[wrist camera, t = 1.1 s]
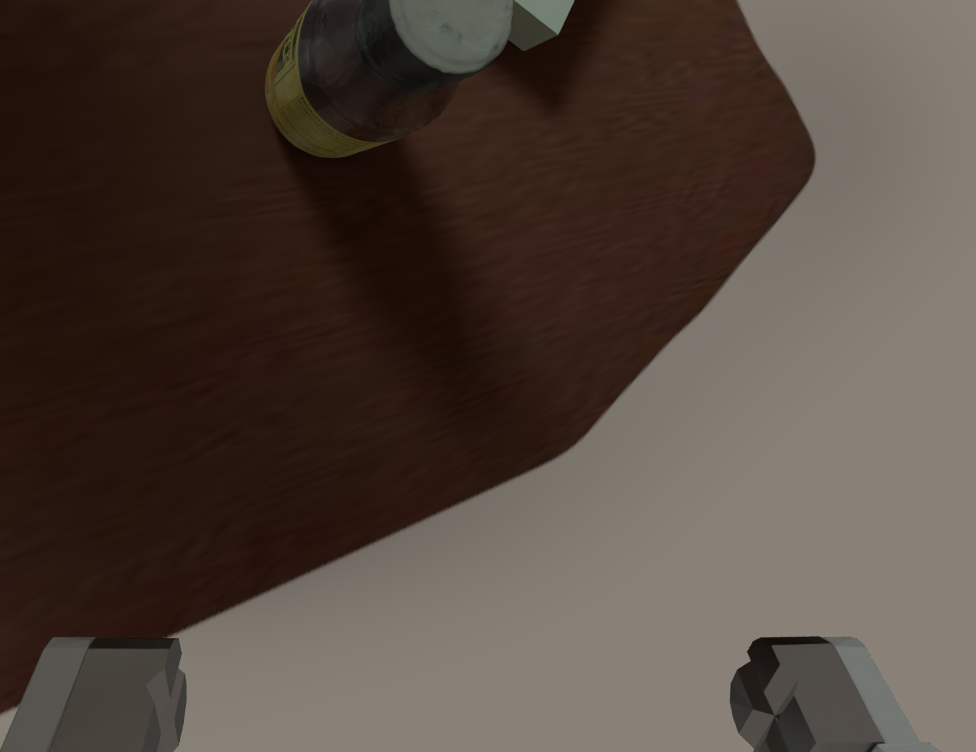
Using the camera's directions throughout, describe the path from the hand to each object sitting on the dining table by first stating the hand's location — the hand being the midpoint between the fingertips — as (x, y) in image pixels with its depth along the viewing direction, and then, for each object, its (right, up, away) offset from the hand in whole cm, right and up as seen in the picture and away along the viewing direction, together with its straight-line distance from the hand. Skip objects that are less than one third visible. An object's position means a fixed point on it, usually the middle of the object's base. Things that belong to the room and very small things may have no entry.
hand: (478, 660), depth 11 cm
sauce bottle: (-9, +18, +29) cm, 36 cm away
